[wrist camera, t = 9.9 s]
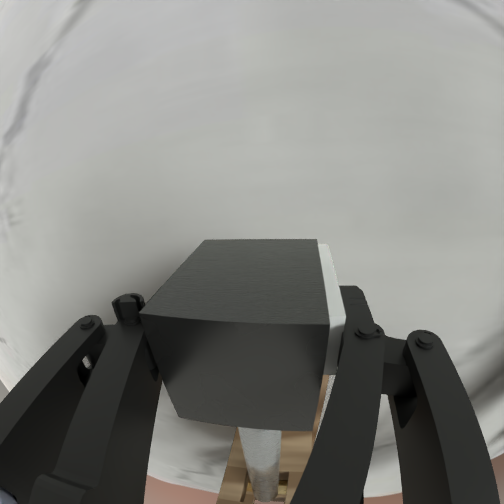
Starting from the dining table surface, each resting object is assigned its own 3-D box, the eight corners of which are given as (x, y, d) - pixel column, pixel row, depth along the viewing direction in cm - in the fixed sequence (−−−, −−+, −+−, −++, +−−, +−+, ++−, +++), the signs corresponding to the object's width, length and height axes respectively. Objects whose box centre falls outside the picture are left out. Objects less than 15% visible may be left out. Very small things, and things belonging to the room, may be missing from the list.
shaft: (204, 239, 12) (138, 312, 7) (316, 239, 12) (330, 324, 6) (245, 466, 21) (234, 513, 16) (294, 470, 20) (288, 518, 15)
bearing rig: (227, 355, 26) (178, 491, 12) (329, 359, 24) (333, 508, 10) (246, 454, 34) (227, 532, 21) (308, 458, 33) (300, 538, 19)
